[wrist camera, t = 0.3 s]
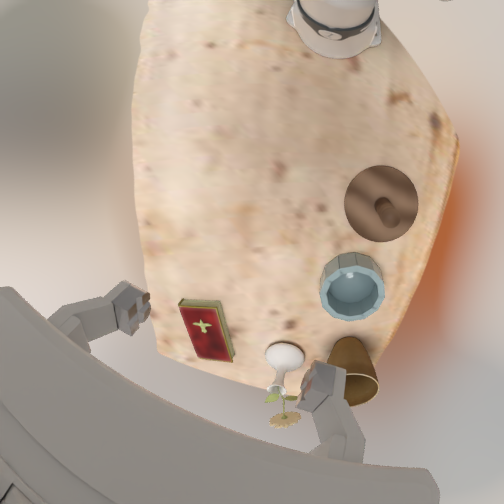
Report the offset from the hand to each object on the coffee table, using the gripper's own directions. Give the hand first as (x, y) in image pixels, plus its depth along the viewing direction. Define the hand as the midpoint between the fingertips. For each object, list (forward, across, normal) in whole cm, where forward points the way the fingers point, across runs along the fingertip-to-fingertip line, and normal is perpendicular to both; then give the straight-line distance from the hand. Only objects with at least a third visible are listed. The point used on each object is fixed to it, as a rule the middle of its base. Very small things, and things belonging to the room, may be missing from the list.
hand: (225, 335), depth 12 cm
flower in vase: (+45, -10, +52) cm, 69 cm away
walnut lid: (+48, -15, +4) cm, 50 cm away
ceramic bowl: (+46, -16, +23) cm, 54 cm away
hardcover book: (+44, +14, +53) cm, 70 cm away
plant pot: (+46, -24, +43) cm, 67 cm away
